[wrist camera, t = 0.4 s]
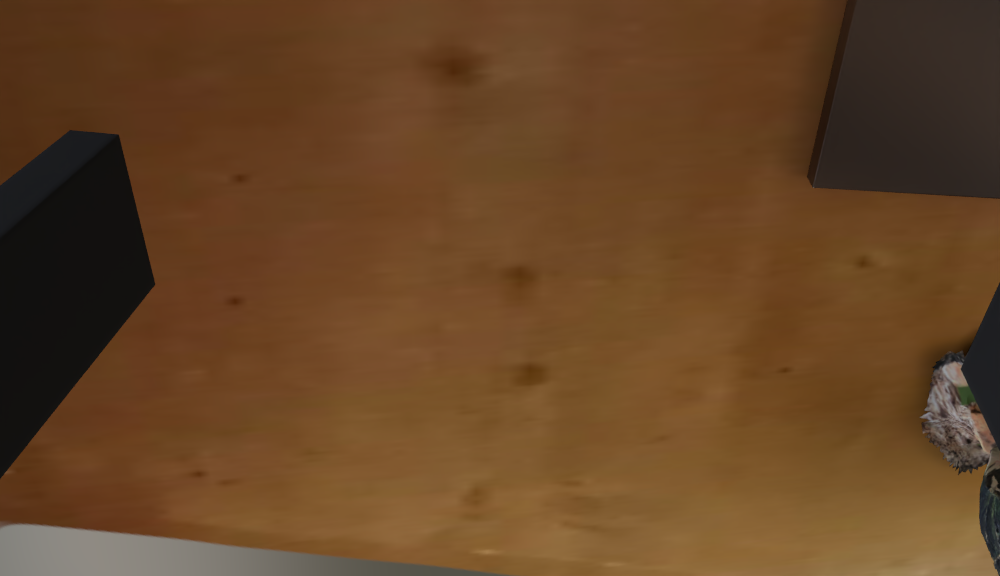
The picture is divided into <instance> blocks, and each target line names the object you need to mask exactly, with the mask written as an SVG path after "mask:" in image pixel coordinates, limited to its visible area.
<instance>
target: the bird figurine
mask: <svg viewBox="0 0 1000 576" xmlns="http://www.w3.org/2000/svg"><path fill="white" fill-rule="evenodd" d="M967 354H968V353H967ZM966 356H967V355H966ZM966 356H965V357H964V354H963V351H960V352H958V353H956V354H955V353H953V352H952V351H949V352H948V353H946V354H945V355H944V356H943V357H942V358H941V359H940V361H937V362H936V365H935V366H934V367H933V368H935V369H934V371H933V372H934V374H933V375H932V376H933V377H932V378H931V379H932V382H931V383H930V386H931V389H930V391H929V395H930V396H929V398H928V403H927V407H926V409H925V410H924V411H930V412H929V413H927V414H925V415H923V416H921V417H919V418H924V419H928V420H931V421H927V422H923V423H922V429H923V433H929V434H928V435H927V436H926V437H928V438H930V441H929V442H930V443H933V444H934V445H937V444H938V445H937V447H938V446H940V451H941V452H943V453H944V456H943V459H944V458H946V457H947V461H949V462H951V463H950V466H951V465H952V464H953V463H954V465H953V468H954V467H956V470H957V469H958V468H959V474H960V473H961V472H962V471H963V472H966V471H967V470H968V469H969V471H970V473H972V469H973V468H974V469H976V470H978V467H981V466H983V465H984V464H987V467H986V470H985V473H984V476H983V481H982V485H981V488H980V513H979V519H980V527H981V533H982V535H983V537H984V539H985V542H986V545H987V547H988V550H989V551H990V553H991V557H992V558H993V560H994V567H995V569H997V571H998V575H999V576H1000V451H999V449H998V447H997V445H996V442H995V440H994V438H993V436H992V434H991V432H990V430H989V428H988V426H987V424H986V421H985V419H984V417H983V415H982V413H981V411H980V409H979V407H978V405H977V403H976V400H975V398H974V396H973V394H972V392H971V390H970V388H969V386H968V384H967V382H966V379H965V377H964V375H963V373H962V371H961V367H962V365H963V362H964V360H965V358H966ZM956 470H955V471H956ZM959 474H958V475H959Z"/></svg>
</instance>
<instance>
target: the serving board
mask: <svg viewBox="0 0 1000 576" xmlns="http://www.w3.org/2000/svg"><path fill="white" fill-rule="evenodd" d="M807 178H808V180H809V181H810V183H811V185H812V187H814V188H829V189H846V190H863V191H880V192H897V193H914V194H930V195H947V196H964V197H981V198H998V199H1000V0H848V1H847V5H846V9H845V14H844V18H843V23H842V27H841V31H840V36H839V40H838V44H837V49H836V53H835V57H834V62H833V66H832V70H831V75H830V79H829V84H828V88H827V92H826V97H825V101H824V105H823V110H822V114H821V118H820V123H819V127H818V131H817V136H816V140H815V144H814V149H813V153H812V158H811V162H810V166H809V171H808V175H807Z"/></svg>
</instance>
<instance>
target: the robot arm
mask: <svg viewBox="0 0 1000 576" xmlns="http://www.w3.org/2000/svg"><path fill="white" fill-rule="evenodd" d="M154 285H155V282H154V278H153V273H152V269H151V265H150V261H149V257H148V253H147V249H146V245H145V241H144V237H143V233H142V228H141V224H140V220H139V216H138V212H137V208H136V204H135V200H134V196H133V192H132V187H131V183H130V179H129V175H128V171H127V167H126V163H125V159H124V155H123V151H122V147H121V142H120V138H119V135H117V134H106V133H95V132H83V131H72V130H70V131H69V132H67V133H66V134H65V135H64V136H62V137H61V138H60V139H59V140H57V141H56V142H55V143H54V144H52V145H51V146H50V147H49V148H47V149H46V150H45V151H43V152H42V153H41V154H40V155H38V156H37V157H36V158H35V159H33V160H32V161H31V162H30V163H28V164H27V165H26V166H25V167H23V168H22V169H21V170H19V171H18V172H17V173H16V174H14V175H13V176H12V177H11V178H9V179H8V180H7V181H6V182H4V183H3V184H2V185H1V186H0V478H1V477H2V476H3V475H4V473H5V472H6V471H7V470H8V468H9V467H10V466H11V465H12V463H13V462H14V461H15V460H16V458H17V457H18V456H19V455H20V453H21V452H22V451H23V450H24V448H25V447H26V446H27V445H28V443H29V442H30V441H31V440H32V438H33V437H34V436H35V435H36V433H37V432H38V431H39V430H40V428H41V427H42V426H43V424H44V423H45V422H46V421H47V419H48V418H49V417H50V416H51V414H52V413H53V412H54V411H55V409H56V408H57V407H58V406H59V404H60V403H61V402H62V401H63V399H64V398H65V397H66V396H67V394H68V393H69V392H70V391H71V389H72V388H73V387H74V386H75V384H76V383H77V382H78V381H79V379H80V378H81V377H82V376H83V374H84V373H85V372H86V371H87V369H88V368H89V367H90V366H91V364H92V363H93V362H94V361H95V359H96V358H97V357H98V356H99V354H100V353H101V352H102V351H103V349H104V348H105V347H106V346H107V344H108V343H109V342H110V340H111V339H112V338H113V337H114V335H115V334H116V333H117V332H118V330H119V329H120V328H121V327H122V325H123V324H124V323H125V322H126V320H127V319H128V318H129V317H130V315H131V314H132V313H133V312H134V310H135V309H136V308H137V307H138V305H139V304H140V303H141V302H142V300H143V299H144V298H145V297H146V295H147V294H148V293H149V292H150V290H151V289H152V288H153V287H154ZM961 371H962V373H963V375H964V377H965V379H966V382H967V384H968V386H969V388H970V390H971V392H972V394H973V396H974V398H975V400H976V403H977V405H978V407H979V409H980V411H981V413H982V415H983V417H984V419H985V421H986V424H987V426H988V428H989V430H990V432H991V434H992V436H993V438H994V440H995V442H996V445H997V447H998V449H999V451H1000V283H999V285H998V288H997V290H996V292H995V294H994V296H993V299H992V301H991V303H990V305H989V307H988V310H987V312H986V314H985V316H984V318H983V321H982V323H981V325H980V327H979V329H978V332H977V334H976V336H975V338H974V340H973V343H972V345H971V347H970V349H969V351H968V354H967V356H966V358H965V360H964V362H963V365H962V367H961Z"/></svg>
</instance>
